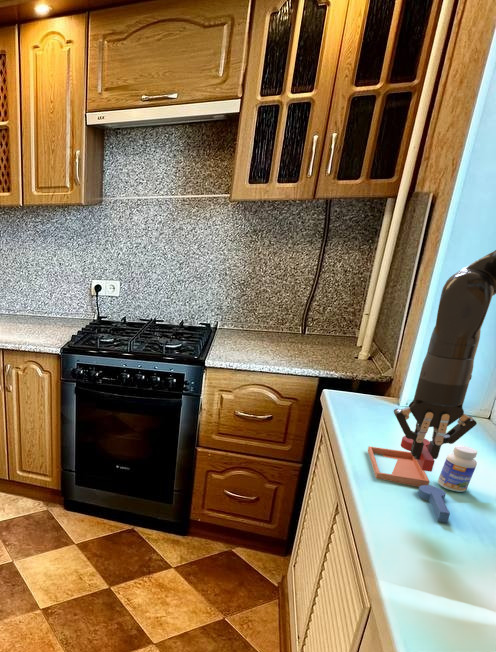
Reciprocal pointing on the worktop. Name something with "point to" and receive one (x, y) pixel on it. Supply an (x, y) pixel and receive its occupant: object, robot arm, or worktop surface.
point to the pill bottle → (458, 469)
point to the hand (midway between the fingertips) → (422, 458)
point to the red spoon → (425, 458)
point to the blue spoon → (435, 501)
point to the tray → (400, 467)
